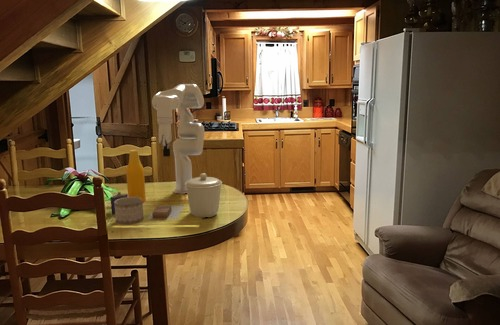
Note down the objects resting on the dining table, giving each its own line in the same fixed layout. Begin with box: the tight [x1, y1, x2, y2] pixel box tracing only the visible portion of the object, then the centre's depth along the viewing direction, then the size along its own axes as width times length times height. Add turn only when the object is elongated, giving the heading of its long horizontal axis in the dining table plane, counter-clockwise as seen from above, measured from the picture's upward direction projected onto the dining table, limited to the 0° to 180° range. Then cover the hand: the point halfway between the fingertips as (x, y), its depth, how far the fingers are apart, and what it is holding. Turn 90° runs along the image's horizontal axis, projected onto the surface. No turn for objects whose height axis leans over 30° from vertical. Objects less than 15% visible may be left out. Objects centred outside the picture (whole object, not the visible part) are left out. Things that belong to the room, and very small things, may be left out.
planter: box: [114, 197, 145, 225], centre depth 190 cm, size 13×13×10 cm
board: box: [147, 205, 184, 220], centre depth 201 cm, size 20×14×1 cm
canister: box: [185, 172, 223, 219], centre depth 197 cm, size 18×18×21 cm
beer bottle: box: [125, 149, 147, 203], centre depth 217 cm, size 9×9×29 cm
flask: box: [109, 191, 128, 215], centre depth 203 cm, size 9×3×11 cm, turn 138°
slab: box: [151, 205, 172, 218], centre depth 196 cm, size 3×7×10 cm
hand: (166, 156), depth 208 cm, fingers closed
